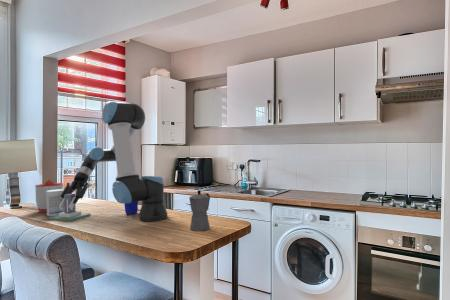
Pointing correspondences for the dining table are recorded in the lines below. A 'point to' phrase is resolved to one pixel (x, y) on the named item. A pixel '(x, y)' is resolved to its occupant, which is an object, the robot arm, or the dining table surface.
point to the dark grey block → (67, 202)
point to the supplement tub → (54, 202)
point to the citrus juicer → (41, 193)
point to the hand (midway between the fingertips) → (65, 208)
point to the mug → (131, 207)
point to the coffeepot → (199, 212)
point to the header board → (69, 216)
